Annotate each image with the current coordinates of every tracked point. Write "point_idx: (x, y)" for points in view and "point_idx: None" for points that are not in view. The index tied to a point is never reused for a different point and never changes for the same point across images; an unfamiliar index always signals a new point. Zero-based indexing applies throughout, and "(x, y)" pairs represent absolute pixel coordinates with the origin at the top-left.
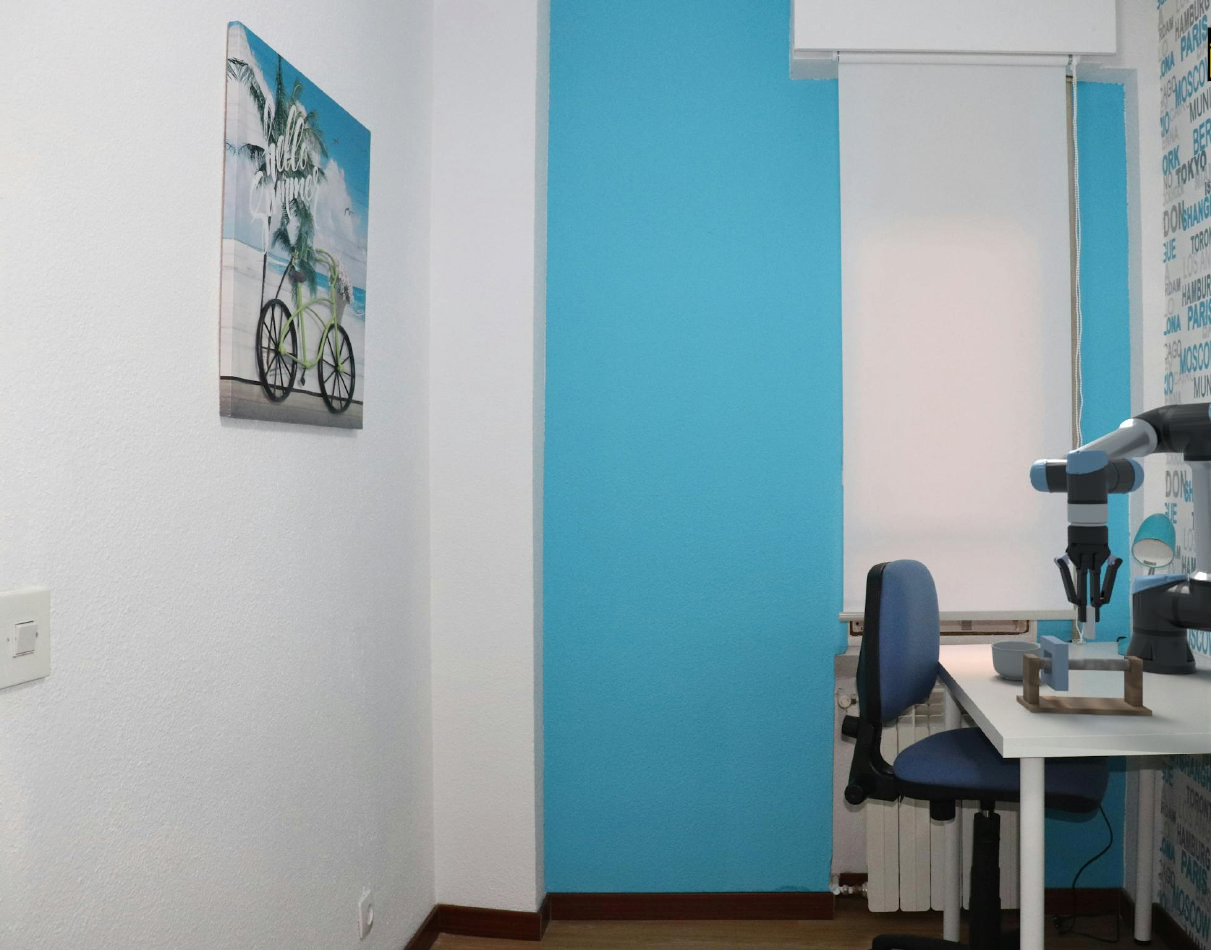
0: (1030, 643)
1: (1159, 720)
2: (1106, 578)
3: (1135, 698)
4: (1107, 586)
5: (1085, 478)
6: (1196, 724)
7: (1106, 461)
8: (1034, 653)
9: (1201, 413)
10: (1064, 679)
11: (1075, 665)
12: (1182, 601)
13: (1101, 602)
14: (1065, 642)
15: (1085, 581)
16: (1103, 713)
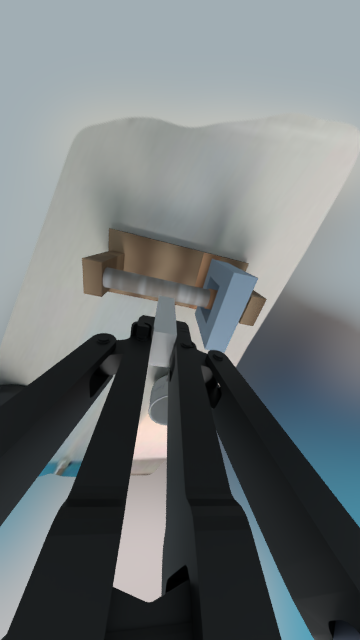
0: (152, 417)
1: (112, 203)
2: (27, 463)
3: (117, 253)
4: (65, 390)
5: None
6: (69, 171)
7: None
8: (164, 392)
9: None
10: (221, 262)
11: (192, 286)
12: None
13: (121, 345)
14: (227, 289)
15: (190, 433)
16: (169, 243)
